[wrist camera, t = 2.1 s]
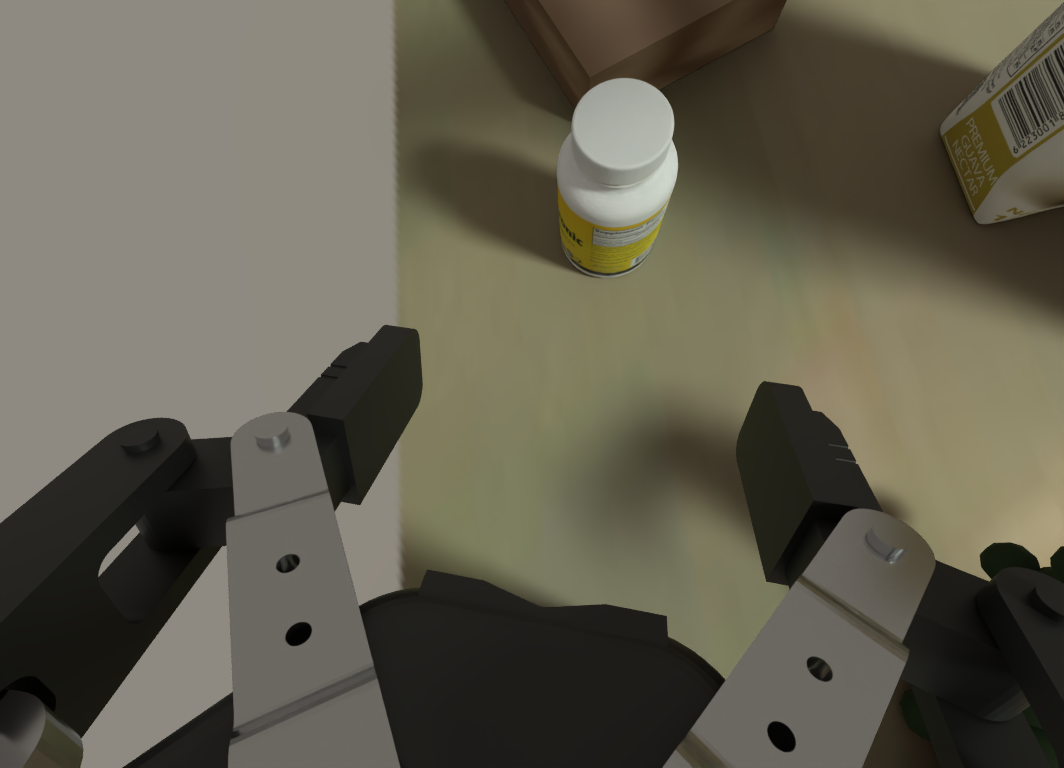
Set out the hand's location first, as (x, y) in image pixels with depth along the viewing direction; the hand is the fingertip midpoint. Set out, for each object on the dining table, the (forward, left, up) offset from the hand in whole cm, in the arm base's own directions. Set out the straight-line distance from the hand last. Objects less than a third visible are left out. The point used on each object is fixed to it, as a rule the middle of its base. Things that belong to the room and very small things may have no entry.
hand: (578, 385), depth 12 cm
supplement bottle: (-7, -9, -16) cm, 20 cm away
